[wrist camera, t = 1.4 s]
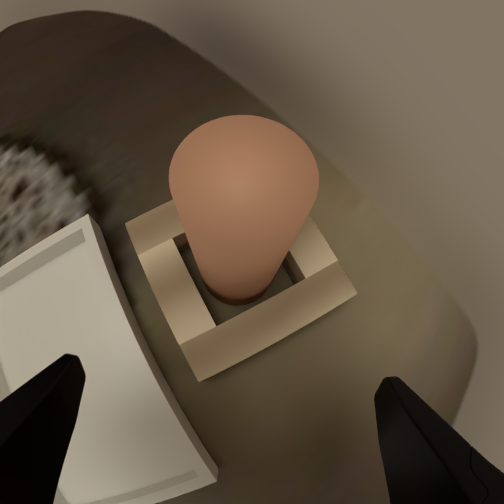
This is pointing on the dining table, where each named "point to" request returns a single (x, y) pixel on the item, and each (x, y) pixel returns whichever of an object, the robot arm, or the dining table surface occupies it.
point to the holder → (249, 322)
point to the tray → (97, 373)
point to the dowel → (242, 201)
